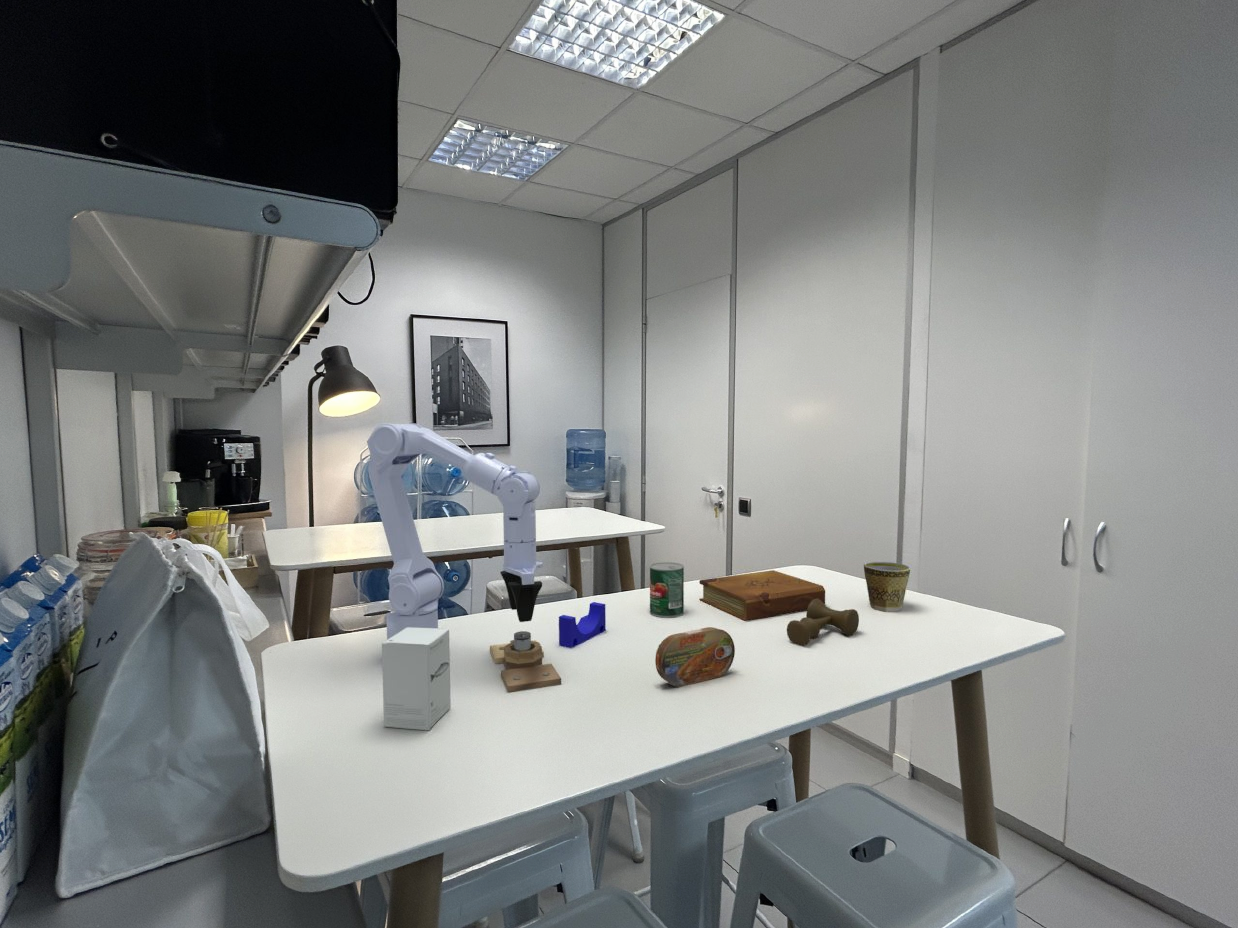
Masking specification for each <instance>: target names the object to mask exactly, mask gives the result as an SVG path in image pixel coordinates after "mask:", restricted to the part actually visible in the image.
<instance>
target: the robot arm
mask: <svg viewBox="0 0 1238 928" xmlns="http://www.w3.org/2000/svg"><path fill="white" fill-rule="evenodd" d="M366 444H367V447H368V451H369V461H368V477H369V480H370V485H371V487H372V491H373V496H374V499H375V502H376V505H377V510H378V512H379V516H380V519H381V523H382V526H383V530H384V533H385V534H384V535H385V536H386V540H387V543H388V547H389V552H390V554H391V558H392V562H393V566H392V568H391V570H390V572H389V574H388V577H387V580H388V585H389V589H388V601H389V604H390V606H391V607H392V609H393V610H394V612H393V611H392V612H387V613H386V640H388V639H389V638H391V637H393V636H394V635H396V634H397V633H399V632H400V631H402V630H403V629H405V628H407V627H410V628H437V629H439V616H438V615H439V614H438V613H439V612H438V611H439V610H438V605H439V599H440V598H441V596H442V595H443V593H444V590H445V582H444V580H443V578H442V576H441V575H440V573H439V572H438V571H437V570H436V567H435V564H434V562H433V561H432V560H431V559H429V558H428V557H427V556H425V554H424V550H423V548H422V544H421V541H420V537H419V535H418V531H417V527H416V523H415V520H414V517H413V513H412V510H411V506H410V504H409V500H408V495H407V492H406V490H405V489H406V488H405V485H404V482H403V479H402V476H403V474H404V473H405V471H406V469H407V468H408V466H409V465H410V464H411V463H412V462H414V461H415V460H416V459H417V458H418V457H419V456H421V455H422V454H424V455H429V456H431V457H433V458H435V459H437V460H439V461H441V462H444V463H446V464H448V465H451V466H452V467H455V468H456V469H459V470H461V471H463V472H464V476H465V479H466V481H467V482H470V483H471V484H473V485H475V486H477V487H479V488H481V489H483V490H485V491H487V492H488V493H490V494H492V495H494V496H495V497H497V499H498V500H499V502H500V503H501V506H502V507H503V508H502V509H503V510H502V511H503V515H502V516H503V519H502V520H503V525H502V526H503V565H502V571H501V570H500V575H501V577H502V579H503V582H504V584H505V587H506V591H507V596H508V601H509V606H510V609H511V610H512V611H514V610H516V615H517V619H518V621H519V623H526V622H531V621H532V620H533V614H534V611H535V606H536V602H537V598H538V595H539V593H540V591H541V589H542V586H543V582H542V581H541V580H537V581H535V573H536V571H537V569H540V568H543V567H544V563H543V562H541V561H537V531H536V530H537V528H536V527H537V525H536V524H537V519H536V516H537V515H536V499H537V498H538V497H539V494H540V490H541V486H540V483H539V480H538V478H537V477H536V476H535V475H533V474H532V473H531V472H530V471H525V470H523V471H519V472H518V467H517V466H515V465H507V464H506V463H504V462H501V461H500V460H497V459H496V456H495V454H494V453H491V452H486V453H485V452H479V453H476V454H472V453H470V452H468V451H467V450H465V449H463V448H462V447H459V446H458V445H457V444H454V443H453V442H451V441H449V440H448V439H446V438H444V437H442V436H441V435H439V434H437V433H436V432H434V431H433V430H432V429H430V428H427V427H423V426H421V425H420V424H418V423H414V422H413V423H412V422H411V423H403V424H402V423H395V424H394V423H389V422H387V423H384V422H383V423H381V424H379V425H377V426H376V427H375V428H374V429H373V431H372V433H371V434H370V435H369V437H368V439H367V440H366Z"/></svg>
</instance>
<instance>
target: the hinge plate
mask: <svg viewBox="0 0 1238 928" xmlns="http://www.w3.org/2000/svg"><path fill="white" fill-rule="evenodd" d="M503 666H504V669H503V670H500V677H501V680H502V682H503V684H504V687H505V689H506V692H507V693H512V692H519V691H520V692H521V691H525V690H531V689H539V688H544V687H552V686H557V685H559V686H560V685H562V678H561V676H560V674H559V673H558V670H556V669H555V667H554V665H553V664H552V663H544V664H543V657H541V658H539V659H538V660H536V661H535V662H529V663H522V664H517V663H511V662H506V660H505V658H504V663H503Z"/></svg>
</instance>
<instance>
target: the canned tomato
mask: <svg viewBox="0 0 1238 928" xmlns="http://www.w3.org/2000/svg"><path fill="white" fill-rule="evenodd" d="M684 570H685V566H684V565H683V564H682V563H679V562H678V563H677V562H671V561H670V562H669V561H668V562H666V561H664V562H663V561H661V562H655V563H652V564H651V563H650V565H649V614H650V615H652V616H654V617H657V618H664V619H668V618H669V619H670V618H678V617H681V616H682V615H684V612H685V611H684V610H685V609H684V608H685V605H684V602H685V601H684V600H685V597H684V595H685V594H684V592H685V591H684V589H685V587H684V582H685V581H684V580H685V579H684V577H685V576H684V575H685V572H684Z"/></svg>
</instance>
